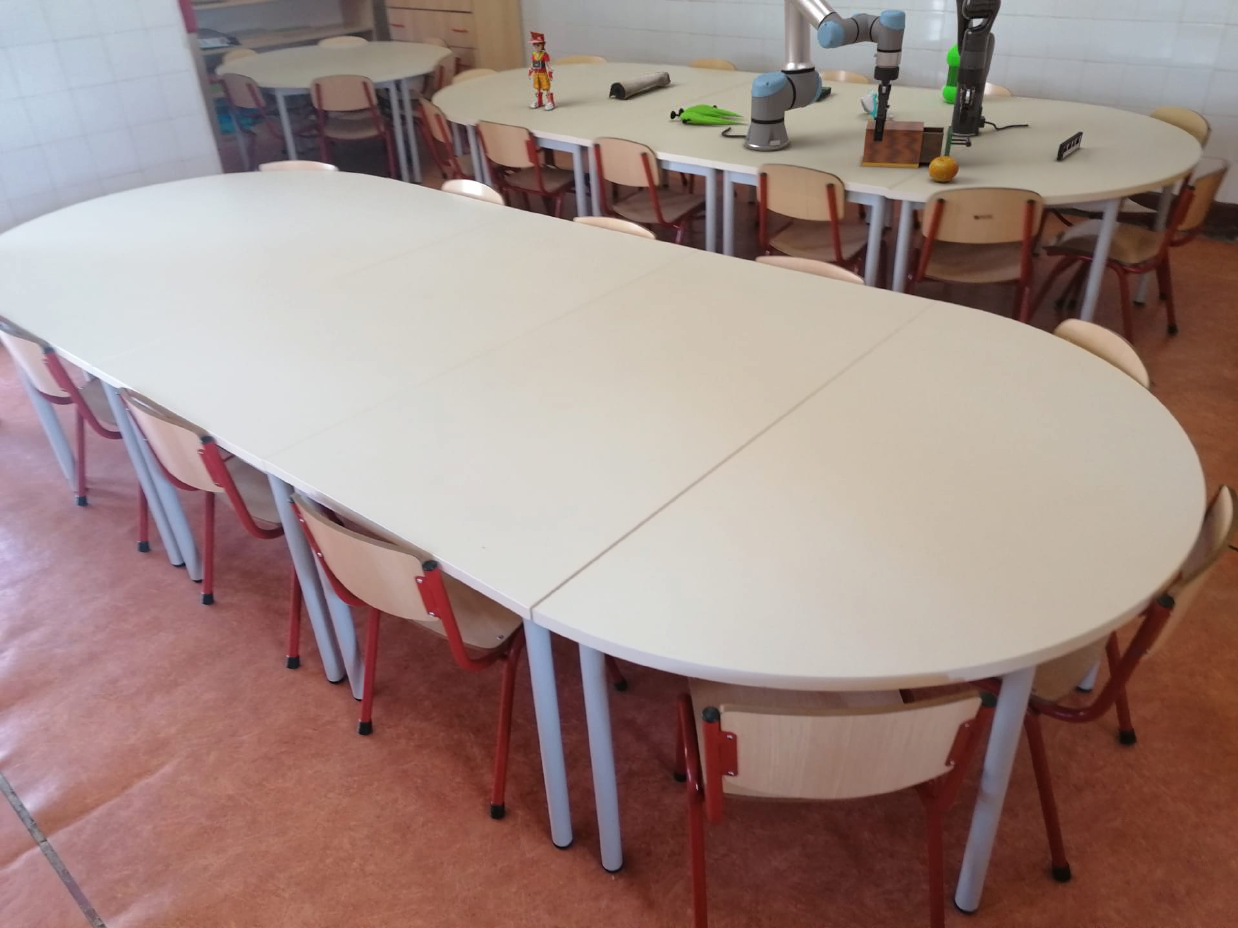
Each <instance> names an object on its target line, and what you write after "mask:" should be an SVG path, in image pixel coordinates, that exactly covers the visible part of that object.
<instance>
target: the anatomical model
mask: <svg viewBox="0 0 1238 928" xmlns="http://www.w3.org/2000/svg"><path fill="white" fill-rule="evenodd" d="M878 102H879V100H878V92H877V93H875V91H874V90H869V92H868V93H867V95H864V96H862V97H861V96H860V103H861V106H862V108H863V111H864V112H865V113H870V115H871V117H872V118H873V119H874V118H876V117H877V110H878ZM890 108H891V105H890V106H889V108H886V109H887V111H889V109H890ZM894 118H895V115H894V114H889V113H888V112H887V115H886V120H893V119H894Z"/></svg>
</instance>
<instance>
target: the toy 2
mask: <svg viewBox="0 0 1238 928" xmlns="http://www.w3.org/2000/svg"><path fill="white" fill-rule="evenodd" d="M669 116H670V117H669V118H670V120H674V119H675V118H676V117H679V120H680V121H681V124H683V125H685V124H695V125H697V124H705V125H706V124H707V125H746V123H744V122H741V121H740V122H739V121H735V120H730V119H724V118H723V117H734V118H744V116H742V115H741V114H739V113H735V112H733V111H730V110H726V109H722V108H718V106H717V105H715V104H714V105H713V106H711V105H709V104H696V105H694V106H690V107H688V108H686V109H684V108H682V107H680V108H679V109H678V113H676V111H675V110H671V112H670V115H669Z"/></svg>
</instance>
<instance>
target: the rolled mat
mask: <svg viewBox="0 0 1238 928" xmlns="http://www.w3.org/2000/svg"><path fill="white" fill-rule="evenodd" d="M671 83H672V81H671V77H670V74H669V72H668V71H658V72H654V73H649V74H645V75H640V76H637V77H633V78H628V79H623V80H620V81H616V82H613V83H612V84H611V85H610V89H609V95H608V97H609V98H611V97H616V99H620V100H622V101H623V100H626V99H627V98H629V97H630V96H632V95H635V94H636V93H638V92H640V91H643V90H644V89H647V88H650V87H655V86H658V87H659V86H661V87H665V86H669V85H670V84H671Z"/></svg>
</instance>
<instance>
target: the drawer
mask: <svg viewBox="0 0 1238 928" xmlns="http://www.w3.org/2000/svg"><path fill="white" fill-rule="evenodd" d="M944 130H945V127H944V126H924V129H923V137H922V144H921V151H920V158H919V163H928V164H930V163H931V162H932V161H933V160H934V159H935V158H937V157H942V149H943V144H944V143H943V142H944V136H945V132H944ZM953 136H954V135H953V126H951V125H948V127H947V134H946V142H945V148H944V153H943V156H949V157H950V154H951V149H952V148H951V147H952V146H965V147H966V148H970V147H971V146H972V138H971V136H966V138H953Z"/></svg>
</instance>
